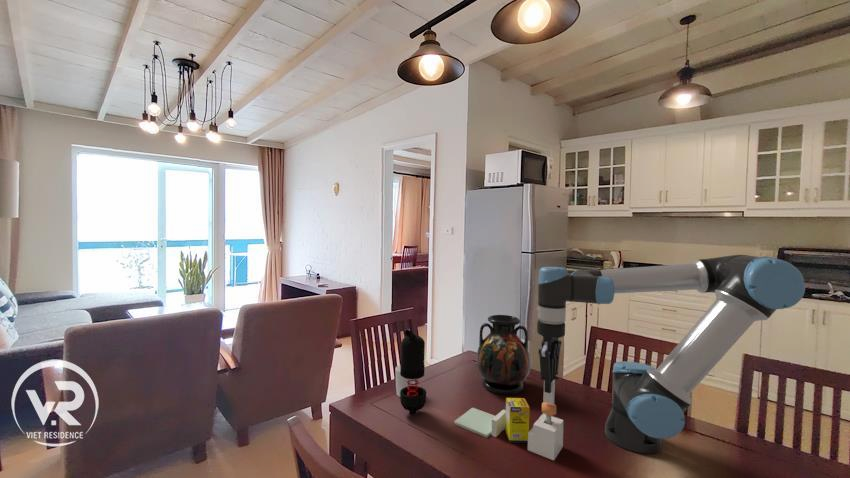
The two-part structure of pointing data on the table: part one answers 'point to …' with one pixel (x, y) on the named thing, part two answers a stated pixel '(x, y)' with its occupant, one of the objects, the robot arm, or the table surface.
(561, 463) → the table surface
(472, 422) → the pad
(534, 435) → the dock
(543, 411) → the brown egg
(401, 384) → the white cup
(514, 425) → the supplement box
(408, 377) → the filter
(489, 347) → the amphora vase
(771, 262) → the robot arm
